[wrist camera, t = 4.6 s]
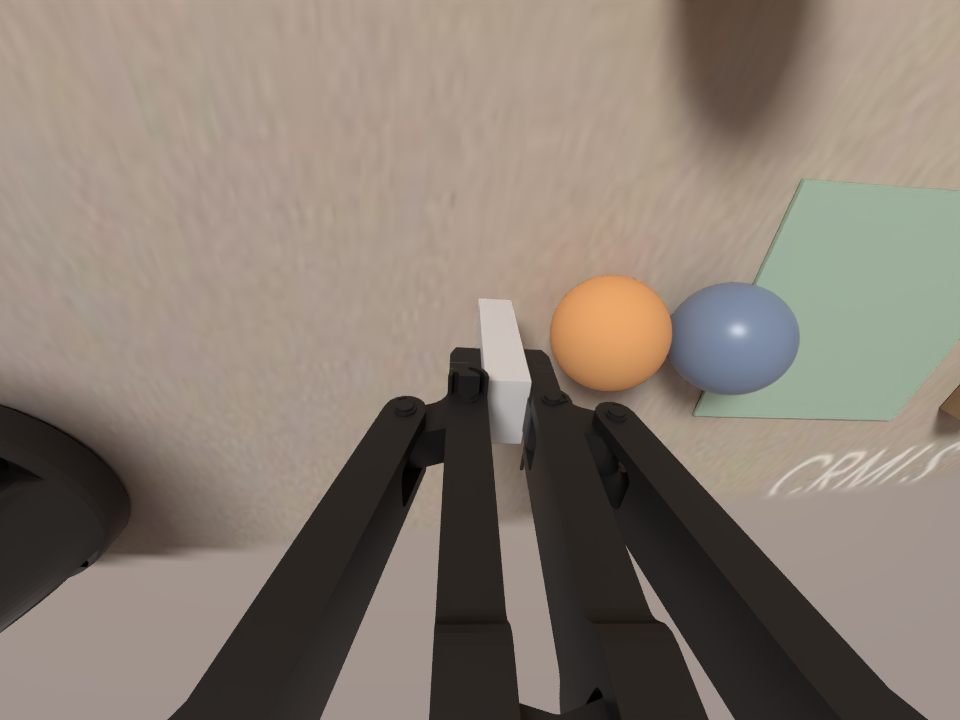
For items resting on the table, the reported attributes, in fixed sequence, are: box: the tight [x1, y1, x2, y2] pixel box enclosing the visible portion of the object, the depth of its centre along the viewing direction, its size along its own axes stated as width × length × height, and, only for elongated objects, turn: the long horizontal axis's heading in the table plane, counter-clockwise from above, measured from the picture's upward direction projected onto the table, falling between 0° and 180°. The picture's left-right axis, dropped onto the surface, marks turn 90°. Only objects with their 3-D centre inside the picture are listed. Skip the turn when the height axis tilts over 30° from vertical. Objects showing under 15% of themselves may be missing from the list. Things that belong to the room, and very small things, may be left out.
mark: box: [693, 179, 960, 421], centre depth 22 cm, size 14×14×1 cm
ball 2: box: [668, 282, 800, 395], centre depth 19 cm, size 6×6×6 cm
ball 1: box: [550, 275, 672, 391], centre depth 19 cm, size 6×6×6 cm
